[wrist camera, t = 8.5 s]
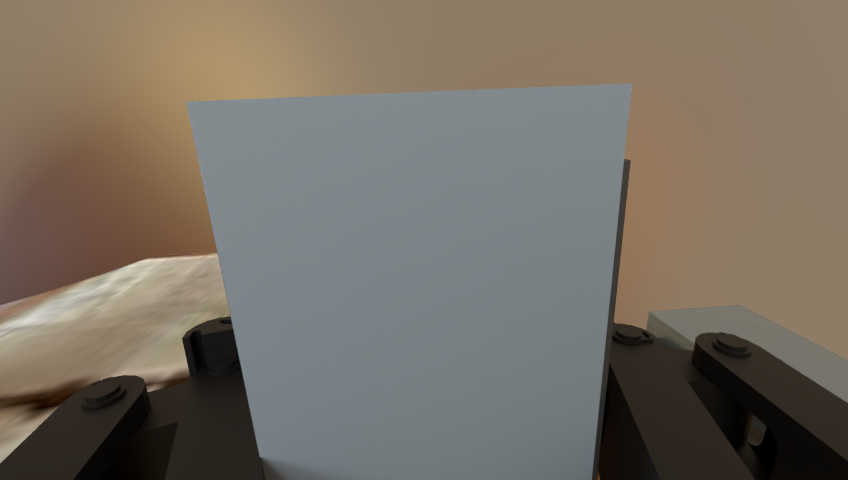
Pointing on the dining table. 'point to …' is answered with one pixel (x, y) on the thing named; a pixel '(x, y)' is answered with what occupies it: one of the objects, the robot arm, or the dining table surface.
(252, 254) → the tall grey-blue pillar
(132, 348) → the dining table surface
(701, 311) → the grey l-shaped block
